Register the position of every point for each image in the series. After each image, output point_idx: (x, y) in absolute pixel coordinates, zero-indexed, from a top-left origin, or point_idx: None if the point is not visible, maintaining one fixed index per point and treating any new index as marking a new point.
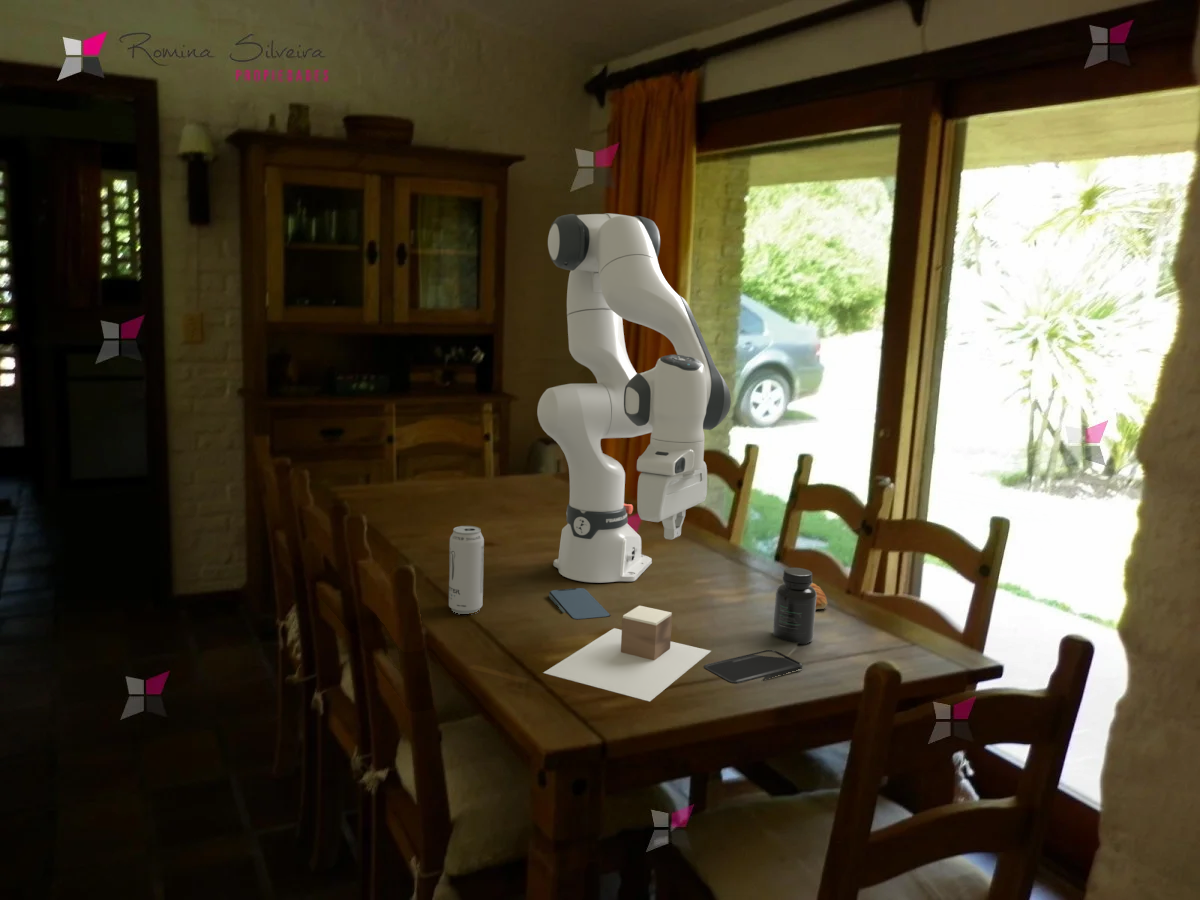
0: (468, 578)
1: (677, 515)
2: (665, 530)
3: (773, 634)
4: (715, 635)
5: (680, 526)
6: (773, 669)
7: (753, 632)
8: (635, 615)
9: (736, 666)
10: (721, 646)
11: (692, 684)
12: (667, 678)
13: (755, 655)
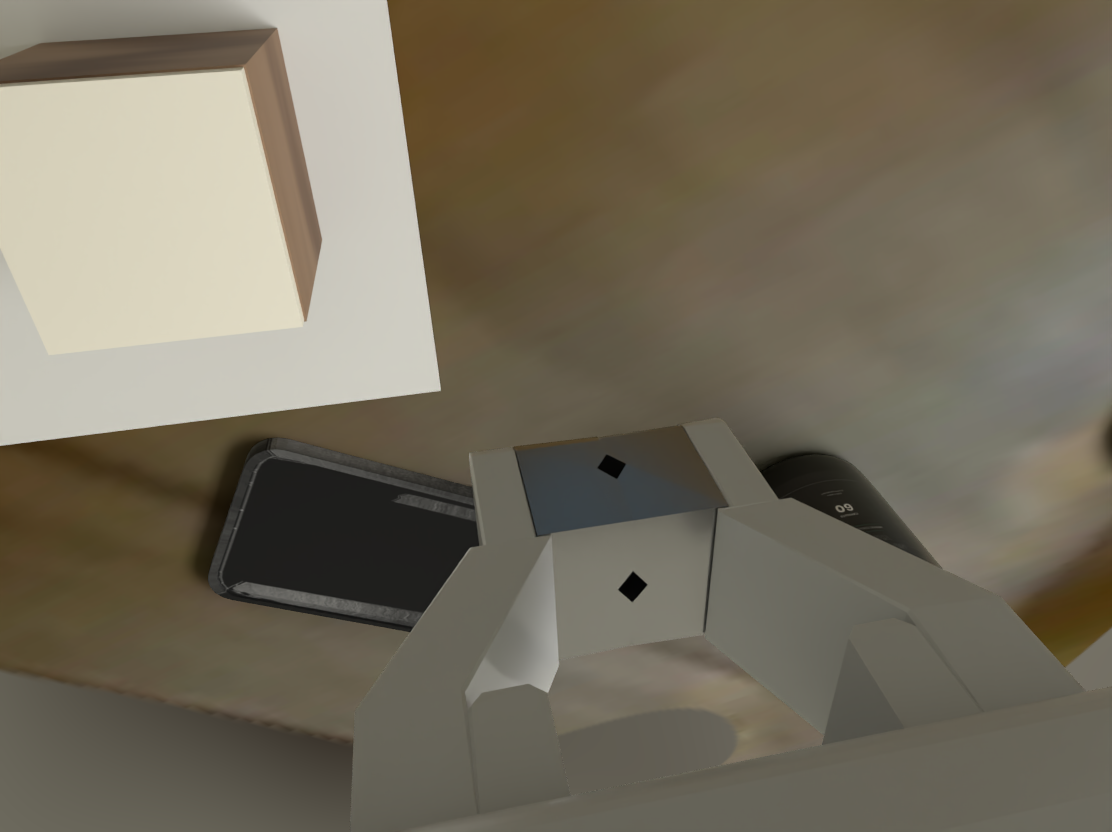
0: None
1: (831, 724)
2: (480, 534)
3: (768, 473)
4: (666, 289)
5: (722, 636)
6: None
7: (785, 388)
8: (30, 170)
9: (364, 526)
10: (556, 369)
11: (96, 477)
12: (2, 411)
13: None
